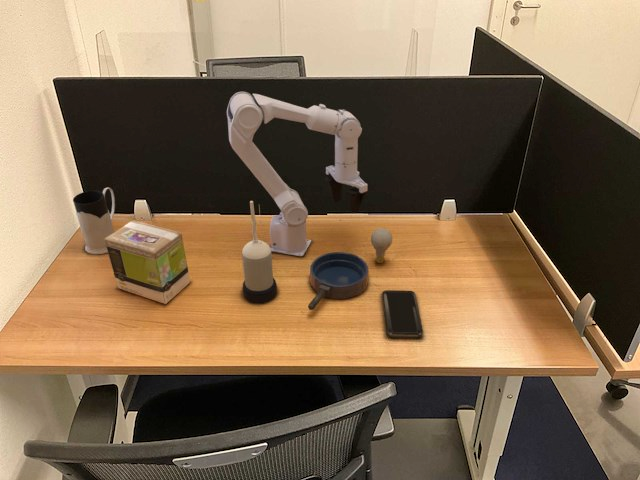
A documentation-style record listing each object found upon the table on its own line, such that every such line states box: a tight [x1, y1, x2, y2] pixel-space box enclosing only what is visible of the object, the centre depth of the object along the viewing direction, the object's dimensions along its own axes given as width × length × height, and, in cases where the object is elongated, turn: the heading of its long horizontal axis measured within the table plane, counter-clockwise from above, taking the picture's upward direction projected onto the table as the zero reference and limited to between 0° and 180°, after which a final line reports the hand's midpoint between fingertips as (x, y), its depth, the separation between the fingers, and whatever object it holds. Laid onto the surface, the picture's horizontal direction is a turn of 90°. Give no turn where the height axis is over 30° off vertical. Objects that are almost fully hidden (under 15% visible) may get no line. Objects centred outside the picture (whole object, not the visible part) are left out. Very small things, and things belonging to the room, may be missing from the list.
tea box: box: [104, 219, 191, 305], centre depth 121 cm, size 15×10×15 cm
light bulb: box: [370, 227, 393, 264], centre depth 130 cm, size 6×6×10 cm
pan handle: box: [307, 284, 331, 311], centre depth 117 cm, size 9×2×2 cm, turn 153°
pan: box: [309, 251, 369, 300], centre depth 125 cm, size 14×14×4 cm
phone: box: [381, 289, 424, 340], centre depth 115 cm, size 8×1×15 cm
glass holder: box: [72, 187, 116, 255], centre depth 138 cm, size 9×14×15 cm, turn 167°
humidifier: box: [241, 200, 278, 305], centre depth 116 cm, size 8×8×25 cm
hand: (345, 206), depth 137 cm, fingers open, 7 cm apart
